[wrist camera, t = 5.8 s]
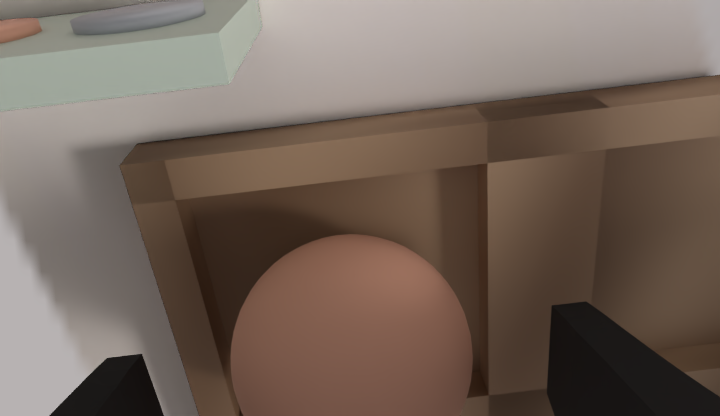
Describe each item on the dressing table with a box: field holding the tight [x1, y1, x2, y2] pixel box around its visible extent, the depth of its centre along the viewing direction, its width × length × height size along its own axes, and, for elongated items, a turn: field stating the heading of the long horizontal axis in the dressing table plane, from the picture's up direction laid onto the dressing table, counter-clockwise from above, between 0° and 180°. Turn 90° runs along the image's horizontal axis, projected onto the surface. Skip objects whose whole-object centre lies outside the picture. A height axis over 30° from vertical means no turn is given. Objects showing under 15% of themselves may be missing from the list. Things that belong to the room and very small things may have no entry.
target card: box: [0, 0, 262, 111], centre depth 8 cm, size 5×1×4 cm, turn 96°
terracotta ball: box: [231, 234, 473, 416], centre depth 11 cm, size 4×4×4 cm
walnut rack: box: [119, 75, 720, 416], centre depth 14 cm, size 15×15×1 cm
